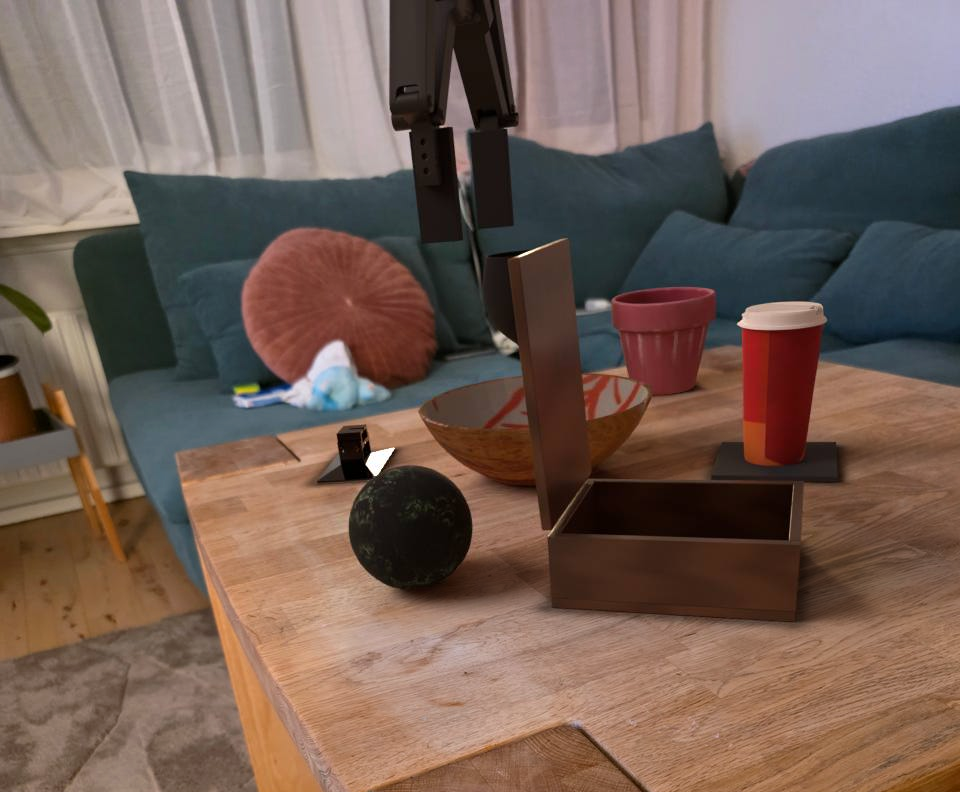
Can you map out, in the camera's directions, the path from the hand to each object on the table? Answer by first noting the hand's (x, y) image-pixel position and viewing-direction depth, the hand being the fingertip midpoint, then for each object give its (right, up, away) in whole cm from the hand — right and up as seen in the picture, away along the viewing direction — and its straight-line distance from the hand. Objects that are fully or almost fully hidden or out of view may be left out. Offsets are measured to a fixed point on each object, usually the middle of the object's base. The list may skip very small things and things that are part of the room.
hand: (471, 234), depth 64 cm
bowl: (+7, -10, +36) cm, 38 cm away
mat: (+32, -10, +30) cm, 45 cm away
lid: (+7, -10, +3) cm, 12 cm away
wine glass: (+8, +5, +64) cm, 65 cm away
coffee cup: (+32, -10, +30) cm, 45 cm away
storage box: (+17, -24, +7) cm, 30 cm away
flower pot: (+27, +7, +65) cm, 71 cm away
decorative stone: (-4, -25, +11) cm, 27 cm away
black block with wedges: (-14, -8, +44) cm, 47 cm away
